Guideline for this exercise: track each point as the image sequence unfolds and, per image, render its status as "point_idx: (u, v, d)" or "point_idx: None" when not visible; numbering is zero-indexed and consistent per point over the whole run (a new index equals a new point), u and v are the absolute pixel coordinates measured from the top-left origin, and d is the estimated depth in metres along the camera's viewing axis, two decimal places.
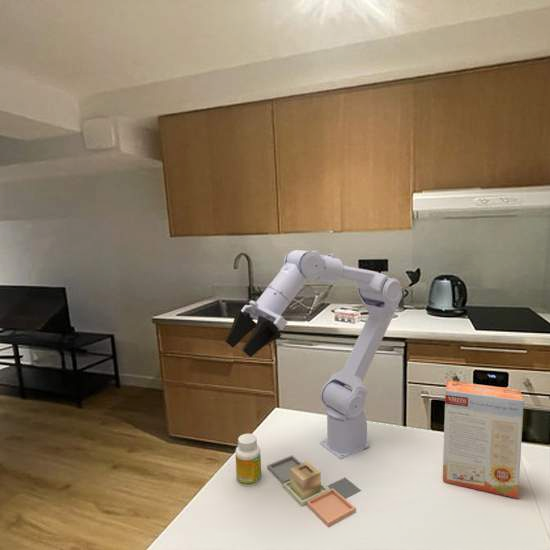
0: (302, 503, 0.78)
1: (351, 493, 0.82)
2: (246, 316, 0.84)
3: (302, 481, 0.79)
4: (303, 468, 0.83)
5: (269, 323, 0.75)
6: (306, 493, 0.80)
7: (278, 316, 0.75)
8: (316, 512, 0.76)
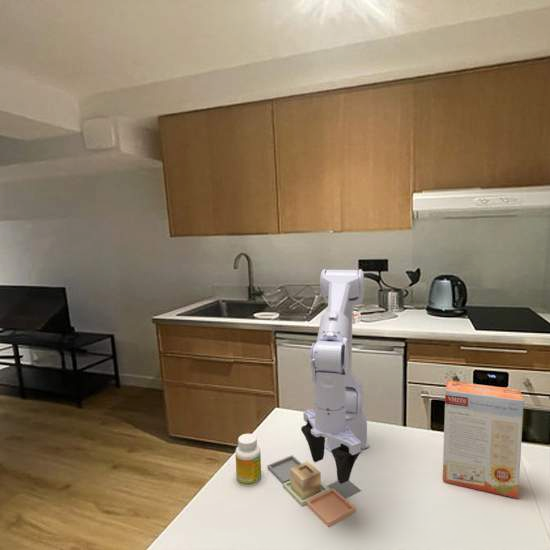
0: (302, 503, 0.78)
1: (351, 493, 0.82)
2: None
3: (302, 481, 0.79)
4: (303, 468, 0.83)
5: (346, 455, 0.70)
6: (306, 493, 0.80)
7: (349, 445, 0.69)
8: (316, 512, 0.76)
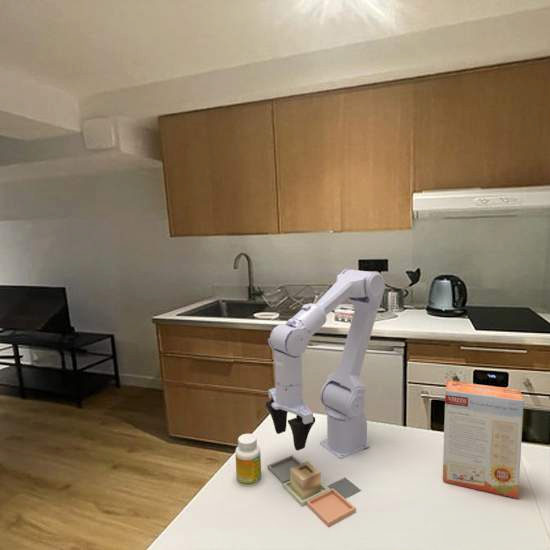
0: (302, 503, 0.78)
1: (351, 493, 0.82)
2: None
3: (302, 481, 0.79)
4: (303, 468, 0.83)
5: (300, 425, 0.80)
6: (306, 493, 0.80)
7: (302, 415, 0.80)
8: (316, 512, 0.76)
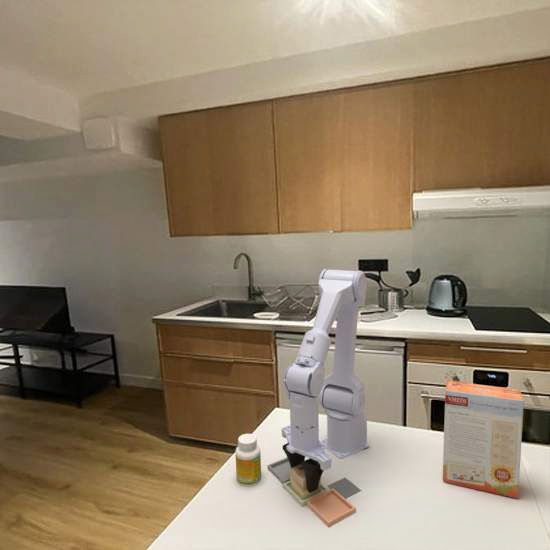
0: (302, 503, 0.78)
1: (351, 493, 0.82)
2: None
3: (302, 481, 0.79)
4: None
5: (313, 467, 0.77)
6: (306, 493, 0.80)
7: (320, 461, 0.75)
8: (316, 512, 0.76)
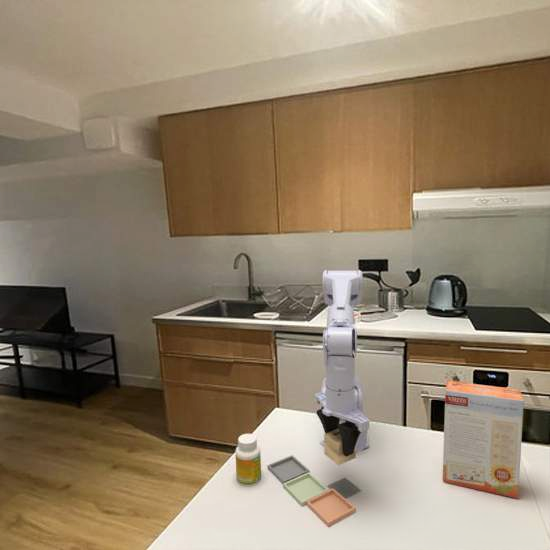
0: (302, 503, 0.78)
1: (351, 493, 0.82)
2: None
3: (338, 445, 0.79)
4: (337, 434, 0.82)
5: (351, 430, 0.76)
6: (341, 458, 0.79)
7: (358, 422, 0.74)
8: (316, 512, 0.76)
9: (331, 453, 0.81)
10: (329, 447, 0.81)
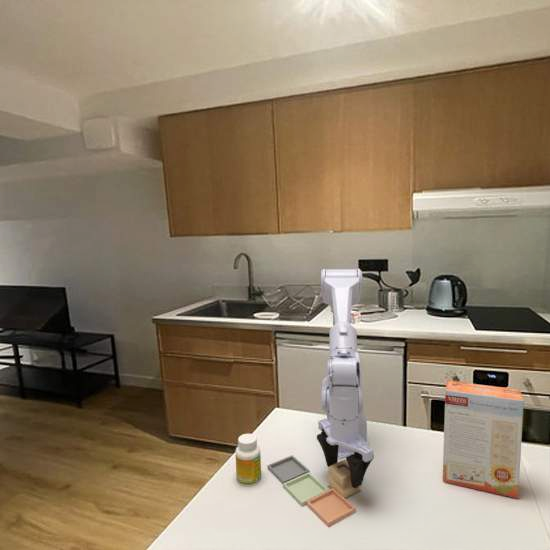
0: (302, 503, 0.78)
1: None
2: None
3: (342, 479, 0.80)
4: (341, 466, 0.83)
5: (359, 462, 0.76)
6: (345, 491, 0.80)
7: (363, 453, 0.75)
8: (316, 512, 0.76)
9: (335, 486, 0.82)
10: (333, 480, 0.82)
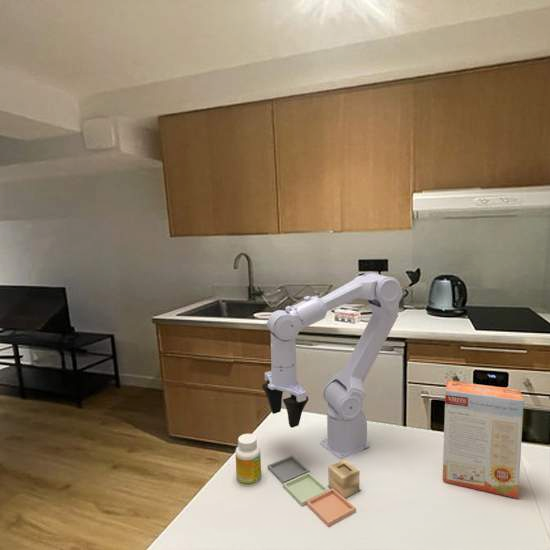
0: (302, 503, 0.78)
1: None
2: None
3: (342, 479, 0.80)
4: (341, 466, 0.83)
5: (294, 403, 0.86)
6: (345, 491, 0.80)
7: (296, 394, 0.86)
8: (316, 512, 0.76)
9: (335, 486, 0.82)
10: (333, 480, 0.82)
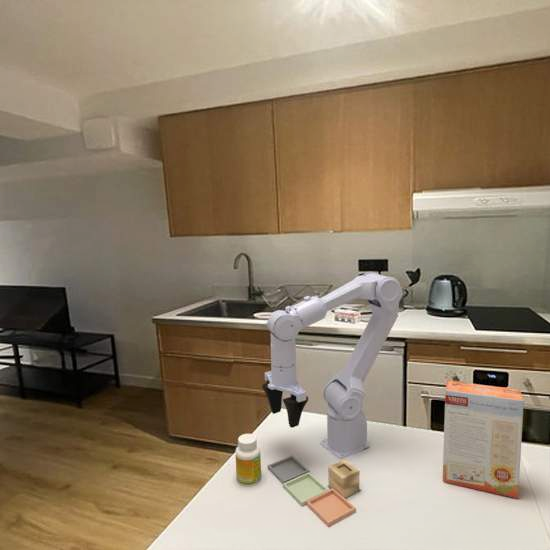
0: (302, 503, 0.78)
1: None
2: None
3: (342, 479, 0.80)
4: (341, 466, 0.83)
5: (294, 403, 0.86)
6: (345, 491, 0.80)
7: (296, 394, 0.86)
8: (316, 512, 0.76)
9: (335, 486, 0.82)
10: (333, 480, 0.82)
